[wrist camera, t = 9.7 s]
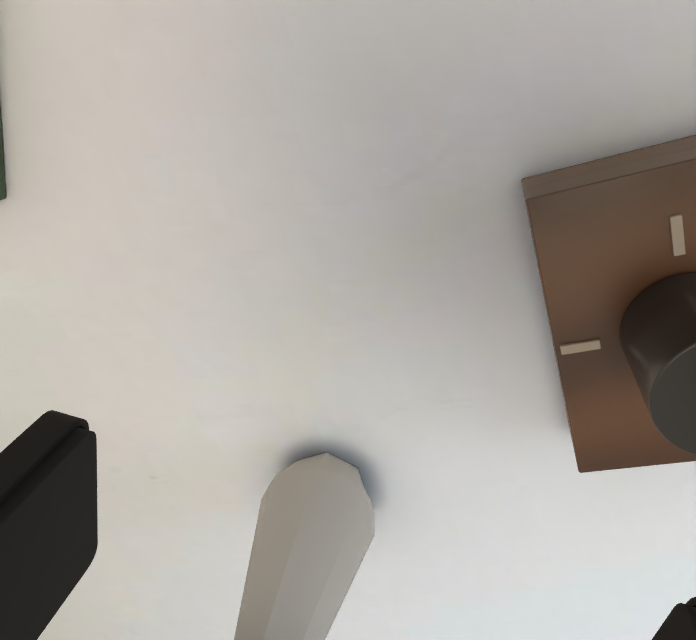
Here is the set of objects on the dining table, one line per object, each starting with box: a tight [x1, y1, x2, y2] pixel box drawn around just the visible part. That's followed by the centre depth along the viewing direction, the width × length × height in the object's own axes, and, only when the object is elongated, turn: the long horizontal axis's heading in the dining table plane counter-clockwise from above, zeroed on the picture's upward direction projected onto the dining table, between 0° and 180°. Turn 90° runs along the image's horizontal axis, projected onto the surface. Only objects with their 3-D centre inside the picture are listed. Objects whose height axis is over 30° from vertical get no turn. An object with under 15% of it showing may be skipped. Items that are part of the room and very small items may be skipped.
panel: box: [521, 135, 696, 473], centre depth 23 cm, size 12×9×3 cm
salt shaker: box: [234, 453, 374, 640], centre depth 26 cm, size 6×6×13 cm
